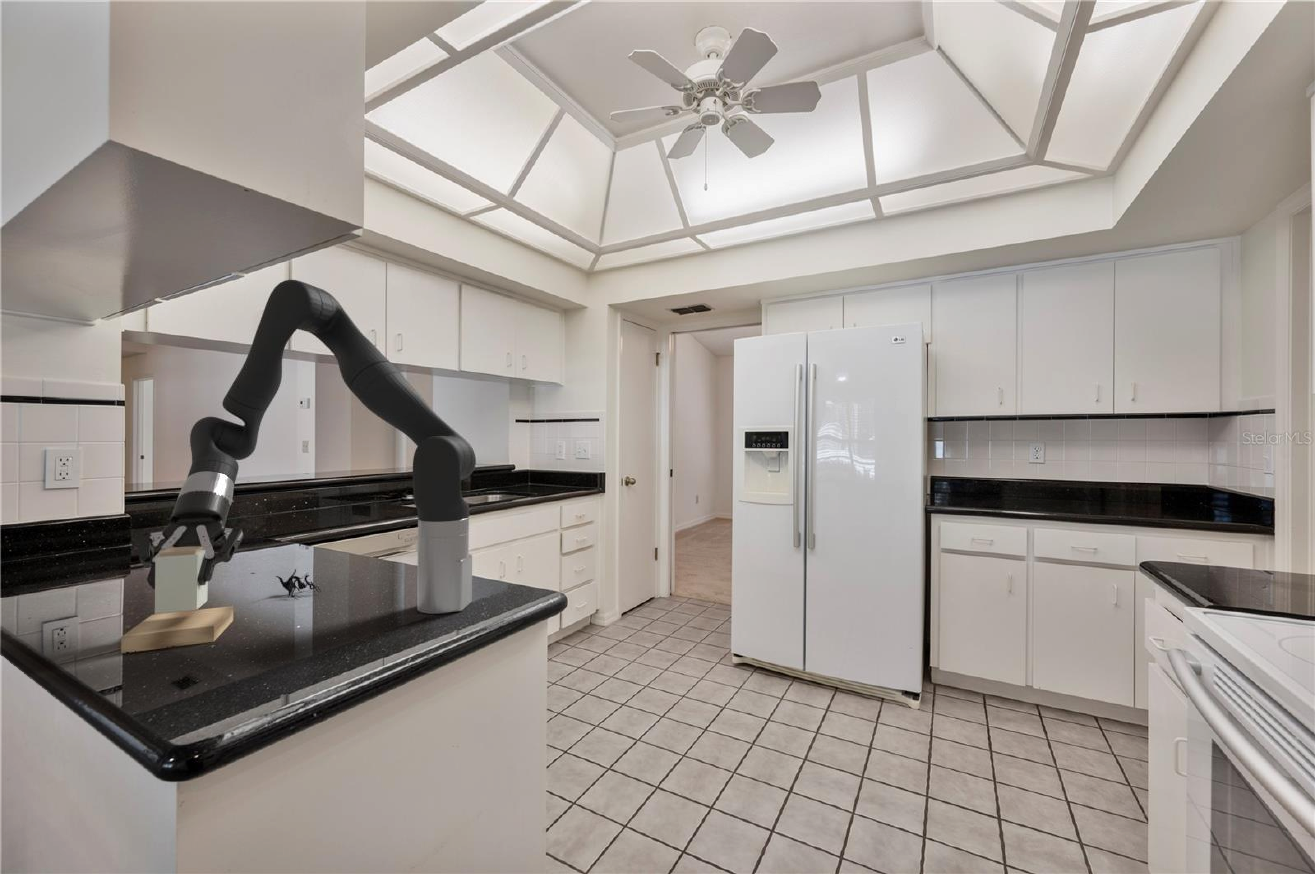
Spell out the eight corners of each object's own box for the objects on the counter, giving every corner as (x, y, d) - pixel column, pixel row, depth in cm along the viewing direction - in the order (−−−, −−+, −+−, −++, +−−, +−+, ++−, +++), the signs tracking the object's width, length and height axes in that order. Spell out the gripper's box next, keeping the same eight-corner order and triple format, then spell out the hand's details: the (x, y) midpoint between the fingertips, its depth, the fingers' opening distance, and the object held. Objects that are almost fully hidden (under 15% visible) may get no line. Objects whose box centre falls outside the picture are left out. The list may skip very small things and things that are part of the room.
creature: (329, 594, 114) (293, 586, 114) (335, 570, 114) (299, 562, 114) (305, 606, 106) (267, 597, 106) (312, 580, 106) (273, 571, 106)
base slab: (233, 622, 94) (233, 605, 94) (213, 644, 84) (214, 625, 84) (151, 632, 89) (152, 614, 89) (121, 656, 79) (121, 636, 79)
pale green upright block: (207, 600, 90) (208, 544, 90) (196, 609, 86) (197, 550, 86) (167, 604, 88) (168, 547, 88) (154, 613, 83) (155, 553, 83)
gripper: (146, 490, 90) (110, 576, 80) (249, 487, 97) (229, 567, 86) (158, 516, 95) (126, 601, 84) (256, 512, 102) (237, 591, 91)
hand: (178, 584), depth 85 cm, fingers closed on pale green upright block, 5 cm apart
